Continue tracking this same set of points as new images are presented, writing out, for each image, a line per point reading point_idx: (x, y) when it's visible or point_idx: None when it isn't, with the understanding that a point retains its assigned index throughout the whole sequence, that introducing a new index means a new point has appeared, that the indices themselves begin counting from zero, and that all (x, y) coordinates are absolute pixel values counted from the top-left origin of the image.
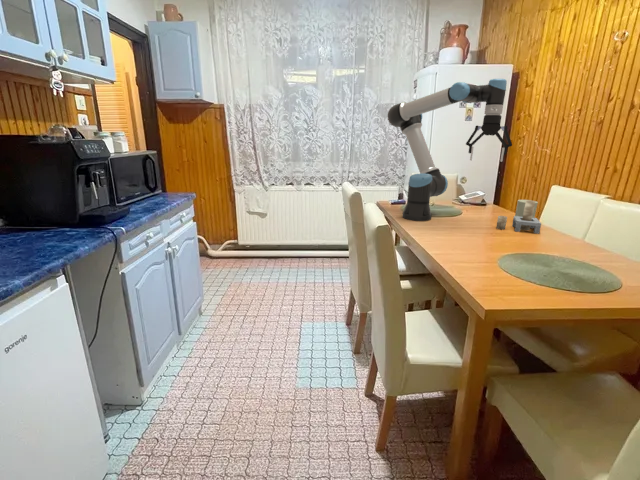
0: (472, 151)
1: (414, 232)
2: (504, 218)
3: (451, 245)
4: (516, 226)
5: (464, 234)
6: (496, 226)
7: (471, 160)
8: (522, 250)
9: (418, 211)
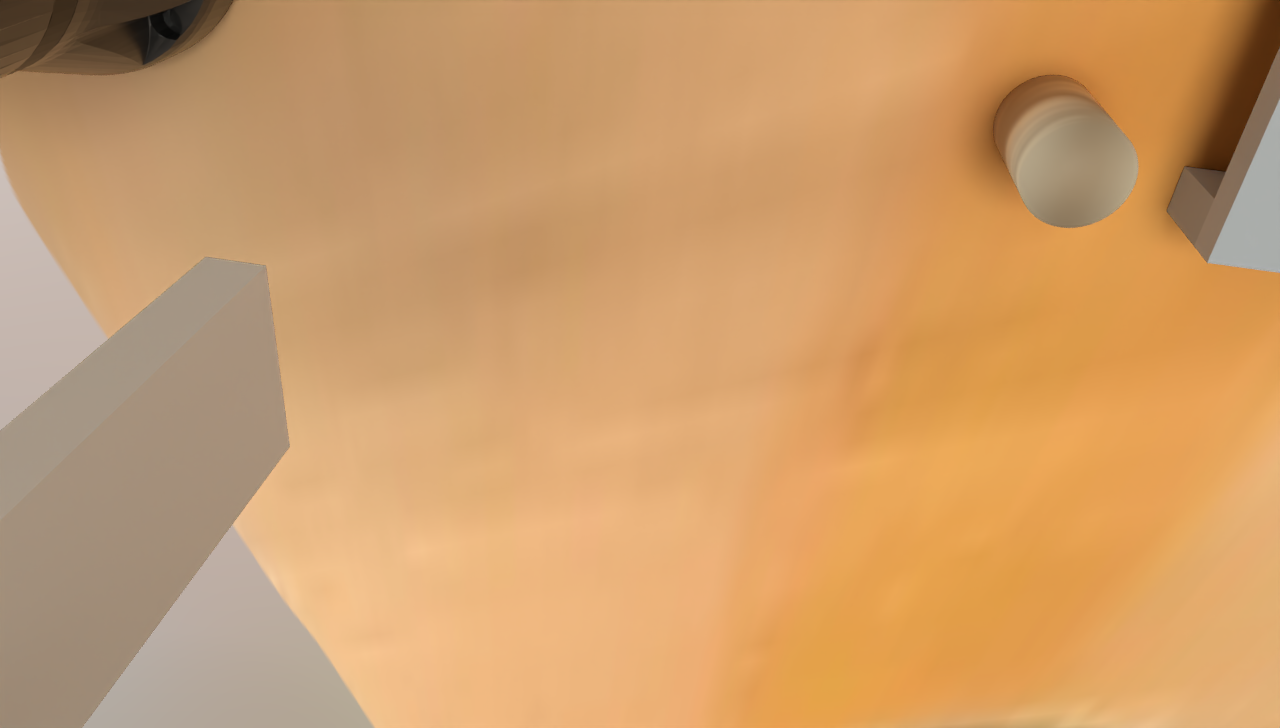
0: (74, 707)
1: None
2: (1077, 222)
3: (515, 678)
4: (1189, 235)
5: (614, 438)
6: (997, 129)
7: (284, 447)
8: (951, 696)
9: (65, 71)
